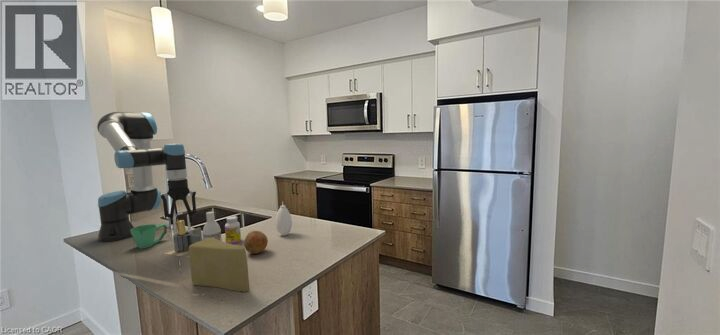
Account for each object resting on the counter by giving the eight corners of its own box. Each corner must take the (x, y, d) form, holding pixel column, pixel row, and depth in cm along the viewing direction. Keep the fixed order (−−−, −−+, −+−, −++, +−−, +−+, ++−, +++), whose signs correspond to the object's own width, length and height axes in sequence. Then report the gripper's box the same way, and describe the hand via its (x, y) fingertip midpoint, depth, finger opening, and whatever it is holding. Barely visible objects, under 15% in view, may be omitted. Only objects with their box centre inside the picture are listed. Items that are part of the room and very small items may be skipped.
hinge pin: (180, 248, 138) (176, 220, 136) (188, 247, 139) (184, 219, 138) (180, 250, 135) (176, 222, 134) (187, 249, 137) (183, 221, 135)
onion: (272, 249, 137) (271, 227, 136) (259, 258, 128) (258, 235, 127) (254, 247, 140) (252, 226, 139) (240, 256, 130) (238, 234, 129)
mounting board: (162, 255, 133) (162, 253, 133) (193, 242, 148) (193, 240, 148) (188, 259, 128) (188, 257, 128) (217, 245, 143) (217, 243, 143)
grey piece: (171, 251, 135) (169, 235, 134) (195, 240, 147) (194, 226, 146) (193, 254, 131) (191, 238, 130) (216, 243, 143) (215, 229, 142)
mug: (138, 254, 136) (136, 232, 134) (129, 250, 141) (126, 229, 140) (173, 243, 148) (171, 223, 147) (163, 239, 153) (160, 220, 152)
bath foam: (223, 259, 128) (219, 213, 125) (205, 263, 125) (200, 215, 122) (222, 253, 134) (218, 209, 131) (205, 257, 131) (200, 211, 128)
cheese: (259, 284, 106) (256, 243, 104) (236, 299, 97) (233, 254, 96) (214, 273, 116) (211, 235, 114) (191, 285, 107) (186, 244, 105)
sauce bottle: (295, 233, 157) (293, 199, 155) (284, 238, 150) (282, 203, 148) (284, 231, 161) (282, 198, 159) (273, 236, 155) (271, 201, 152)
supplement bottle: (223, 245, 143) (220, 219, 142) (232, 240, 150) (230, 215, 148) (234, 246, 141) (232, 220, 140) (244, 241, 148) (242, 216, 146)
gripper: (151, 182, 126) (157, 236, 129) (199, 178, 134) (204, 229, 137) (154, 179, 133) (160, 231, 136) (200, 176, 140) (205, 224, 143)
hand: (182, 230), depth 136 cm, fingers open, 5 cm apart
